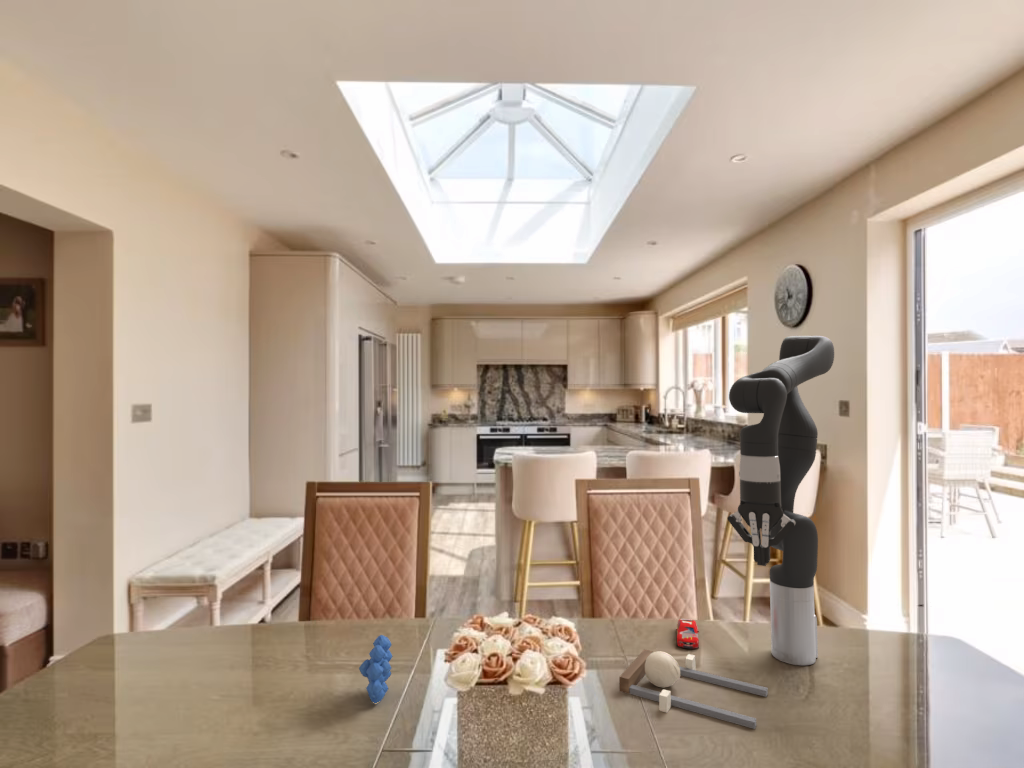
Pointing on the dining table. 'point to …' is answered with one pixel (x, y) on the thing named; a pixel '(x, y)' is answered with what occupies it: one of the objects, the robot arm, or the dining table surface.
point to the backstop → (634, 672)
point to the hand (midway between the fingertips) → (761, 564)
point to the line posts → (666, 695)
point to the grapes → (377, 668)
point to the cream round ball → (662, 669)
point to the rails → (704, 708)
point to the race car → (687, 634)
